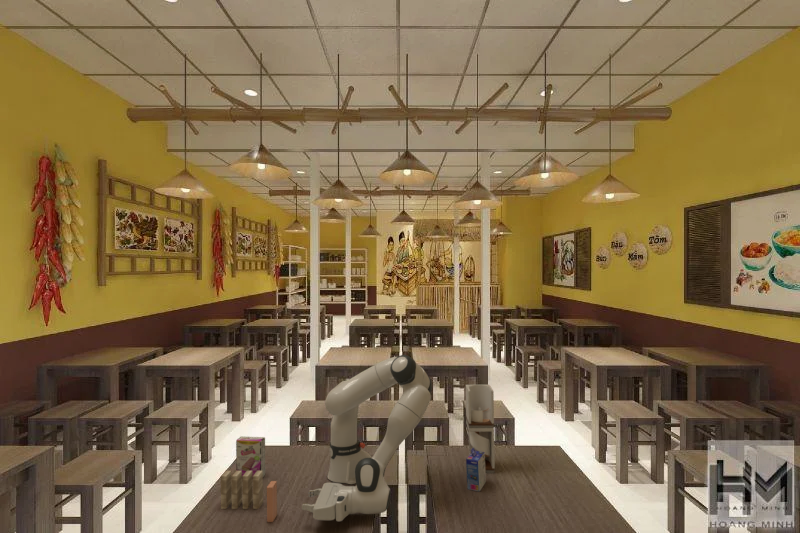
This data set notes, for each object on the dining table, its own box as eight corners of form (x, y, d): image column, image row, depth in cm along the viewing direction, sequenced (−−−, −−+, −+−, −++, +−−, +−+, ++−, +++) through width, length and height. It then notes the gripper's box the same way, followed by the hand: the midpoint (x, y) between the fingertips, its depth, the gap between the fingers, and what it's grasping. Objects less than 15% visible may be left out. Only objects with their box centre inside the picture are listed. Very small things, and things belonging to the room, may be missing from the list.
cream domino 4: (262, 502, 181) (262, 470, 181) (258, 508, 176) (258, 476, 176) (257, 502, 181) (257, 470, 181) (253, 508, 176) (252, 476, 176)
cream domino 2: (242, 502, 181) (241, 470, 181) (237, 508, 176) (236, 476, 176) (237, 502, 181) (236, 470, 181) (231, 508, 176) (231, 476, 176)
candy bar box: (235, 479, 201) (235, 440, 201) (240, 473, 206) (240, 435, 206) (261, 479, 200) (260, 440, 200) (266, 474, 205) (265, 436, 205)
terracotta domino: (277, 514, 172) (276, 481, 172) (272, 521, 166) (272, 487, 167) (271, 514, 172) (271, 481, 172) (267, 521, 167) (266, 487, 167)
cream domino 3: (252, 502, 181) (252, 470, 181) (248, 508, 176) (247, 476, 176) (247, 502, 181) (247, 470, 181) (242, 508, 176) (242, 476, 176)
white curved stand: (466, 462, 215) (465, 384, 215) (490, 462, 215) (489, 384, 215) (469, 473, 204) (468, 391, 204) (494, 473, 203) (493, 391, 204)
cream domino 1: (231, 502, 181) (231, 470, 181) (226, 508, 176) (226, 476, 176) (226, 502, 181) (226, 470, 181) (221, 508, 176) (220, 476, 176)
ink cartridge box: (473, 479, 198) (472, 444, 198) (486, 481, 196) (485, 446, 196) (466, 489, 189) (465, 452, 189) (479, 492, 187) (479, 454, 187)
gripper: (348, 478, 179) (311, 478, 179) (339, 505, 158) (298, 505, 159) (348, 494, 179) (312, 494, 179) (340, 524, 158) (298, 524, 159)
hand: (305, 499), depth 169 cm, fingers open, 8 cm apart
